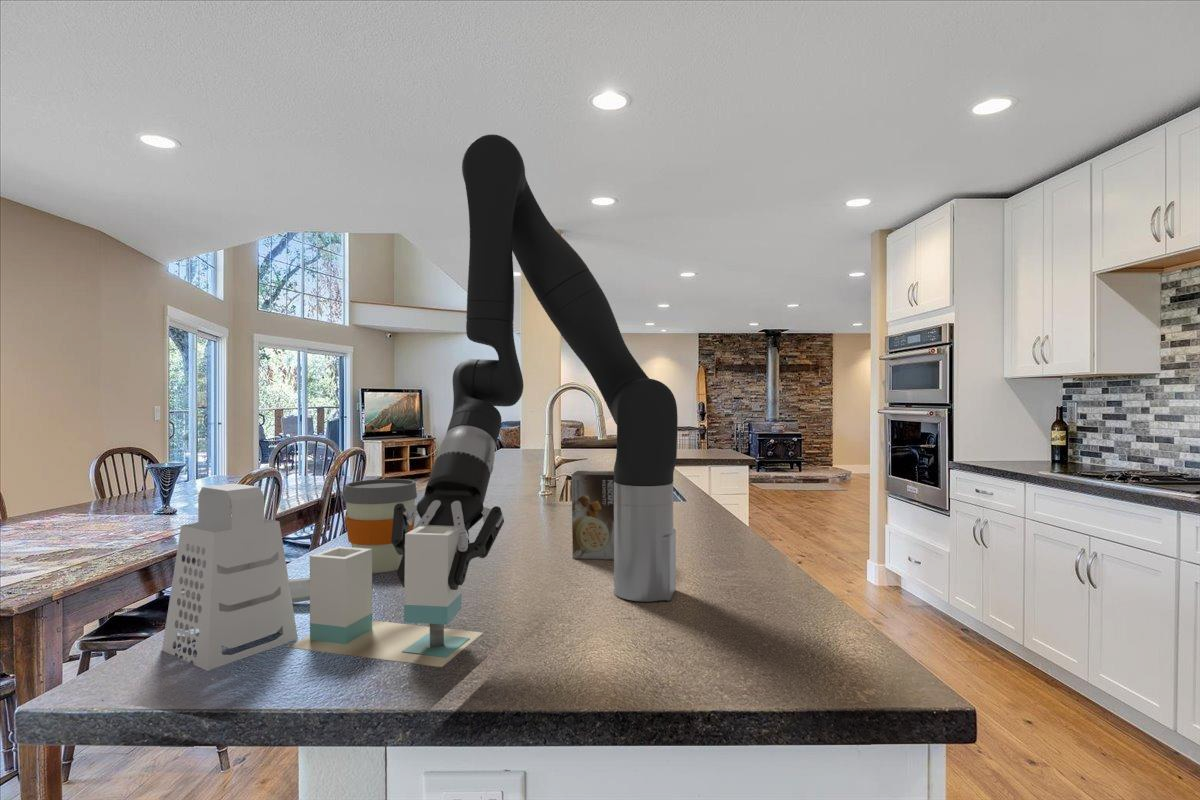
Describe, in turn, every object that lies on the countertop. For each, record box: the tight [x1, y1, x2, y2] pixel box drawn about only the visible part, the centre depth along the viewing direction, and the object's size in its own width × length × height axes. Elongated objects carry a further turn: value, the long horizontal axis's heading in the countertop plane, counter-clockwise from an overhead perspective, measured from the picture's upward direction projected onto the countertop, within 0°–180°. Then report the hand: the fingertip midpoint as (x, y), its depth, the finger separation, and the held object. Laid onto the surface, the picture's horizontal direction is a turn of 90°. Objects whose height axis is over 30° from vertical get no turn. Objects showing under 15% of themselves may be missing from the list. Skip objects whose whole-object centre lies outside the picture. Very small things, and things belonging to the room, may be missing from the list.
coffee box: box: [571, 470, 614, 560], centre depth 119 cm, size 9×6×16 cm
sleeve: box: [403, 525, 463, 625], centre depth 72 cm, size 5×5×10 cm
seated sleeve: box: [309, 546, 373, 644], centre depth 76 cm, size 5×5×10 cm
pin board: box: [287, 620, 484, 668], centre depth 74 cm, size 20×10×6 cm, turn 75°
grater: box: [161, 482, 299, 672], centre depth 73 cm, size 10×10×20 cm
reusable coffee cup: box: [343, 478, 418, 574], centre depth 112 cm, size 13×13×15 cm
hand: (428, 584), depth 70 cm, fingers closed on sleeve, 5 cm apart
